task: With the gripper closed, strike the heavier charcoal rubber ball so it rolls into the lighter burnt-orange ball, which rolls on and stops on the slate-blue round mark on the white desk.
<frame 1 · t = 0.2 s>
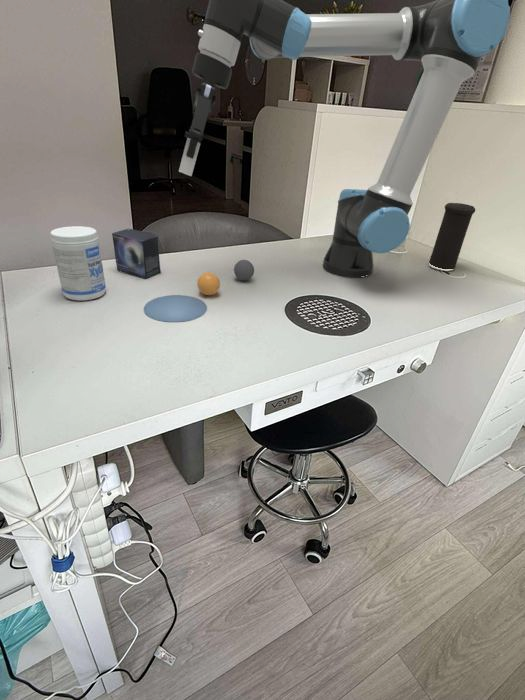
hand: (185, 169, 86), 27 cm above the table, tool tilted 20°, fingers open, 13 cm apart
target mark: (175, 308, 89), on the table
orange ball: (208, 283, 95), on the table
charcoal ball: (244, 270, 105), on the table
small box: (138, 272, 107), on the table
container: (441, 268, 127), on the table
supplement tub: (85, 294, 92), on the table
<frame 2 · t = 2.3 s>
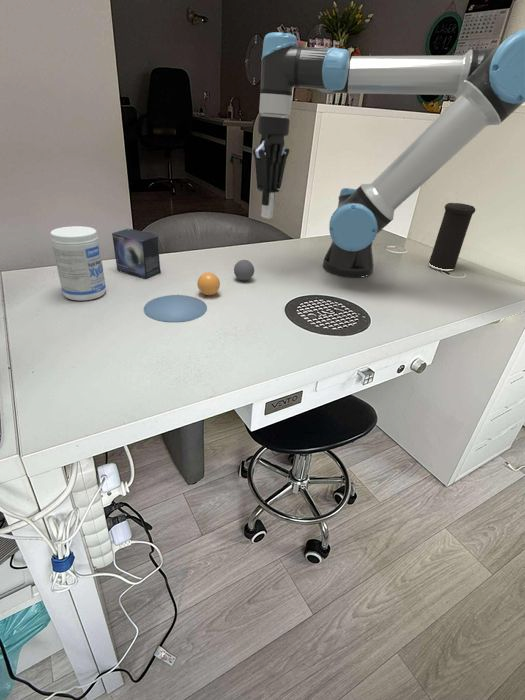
hand: (266, 217, 105), 15 cm above the table, tool pointing down, fingers closed
nothing on the table moved.
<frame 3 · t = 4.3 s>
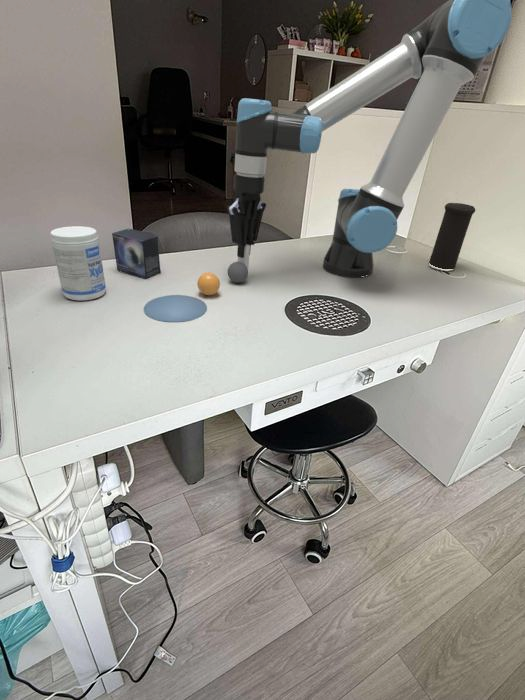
hand: (242, 267, 106), 3 cm above the table, tool pointing down, fingers closed
charcoal ball: (237, 272, 103), on the table
everything else where it was.
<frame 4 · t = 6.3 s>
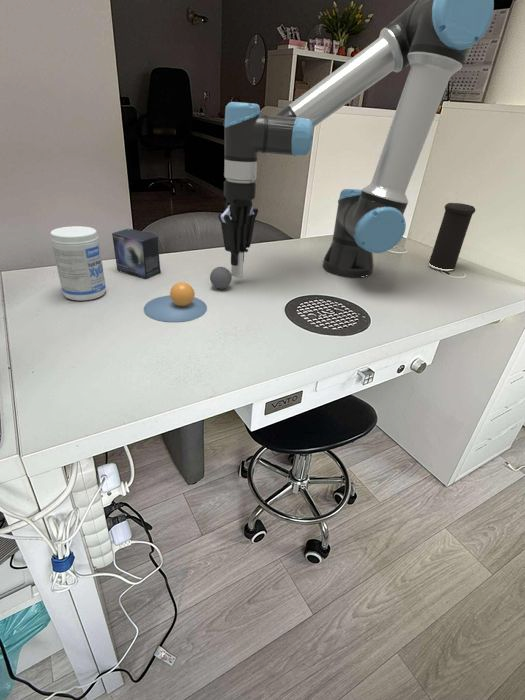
hand: (236, 275, 103), 2 cm above the table, tool pointing down, fingers closed
orange ball: (182, 294, 89), on the table
charcoal ball: (220, 277, 99), on the table
everything else where it was.
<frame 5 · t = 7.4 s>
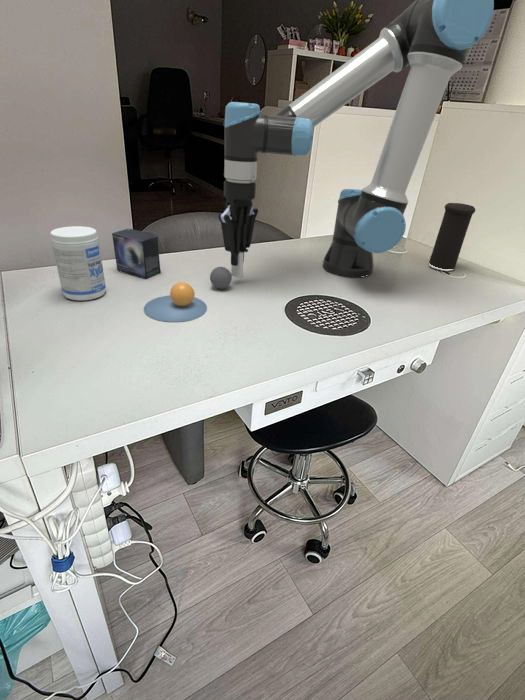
hand: (236, 275, 103), 2 cm above the table, tool pointing down, fingers closed
nothing on the table moved.
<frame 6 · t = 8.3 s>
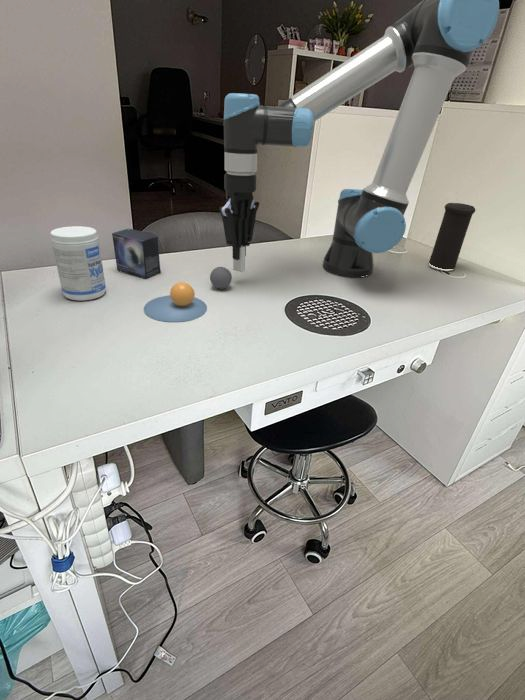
hand: (239, 270, 103), 3 cm above the table, tool pointing down, fingers closed
nothing on the table moved.
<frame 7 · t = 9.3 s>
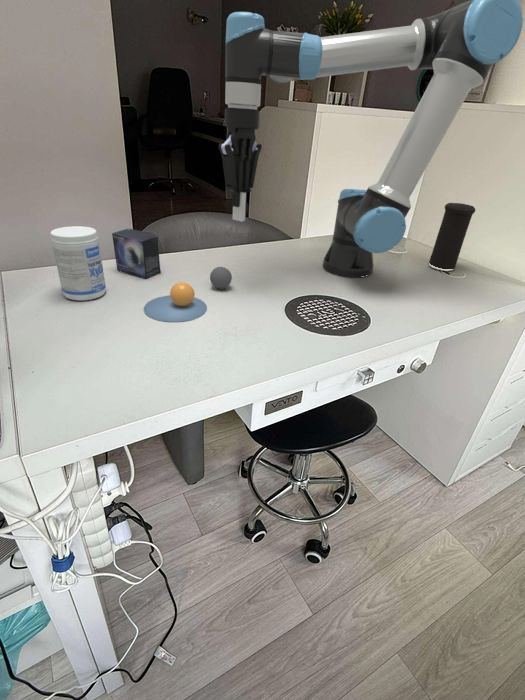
hand: (238, 219, 96), 16 cm above the table, tool pointing down, fingers closed
nothing on the table moved.
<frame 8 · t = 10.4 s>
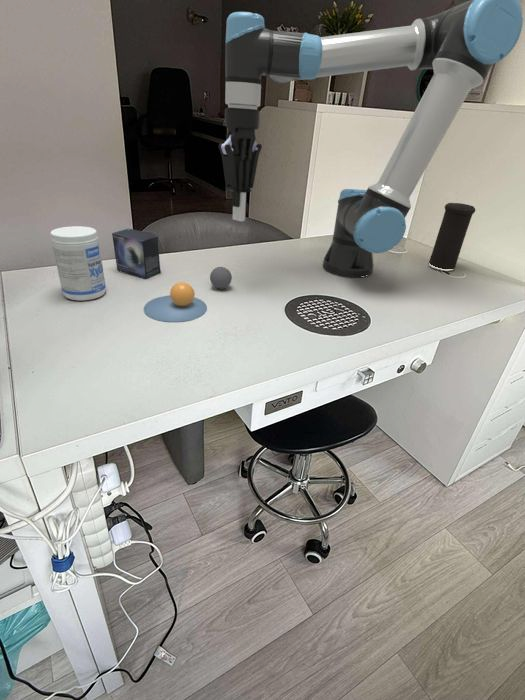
hand: (238, 219, 96), 16 cm above the table, tool pointing down, fingers closed
nothing on the table moved.
at the end: orange ball 2.1 cm from the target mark (horizontally); orange ball never touched the robot; charcoal ball first touched orange ball at 4.6 s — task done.
